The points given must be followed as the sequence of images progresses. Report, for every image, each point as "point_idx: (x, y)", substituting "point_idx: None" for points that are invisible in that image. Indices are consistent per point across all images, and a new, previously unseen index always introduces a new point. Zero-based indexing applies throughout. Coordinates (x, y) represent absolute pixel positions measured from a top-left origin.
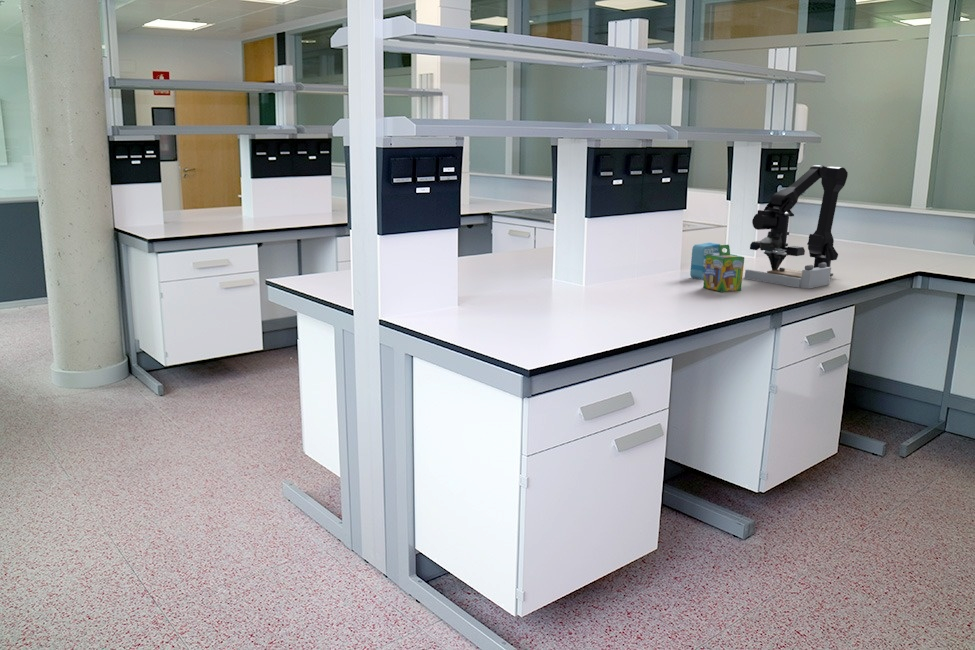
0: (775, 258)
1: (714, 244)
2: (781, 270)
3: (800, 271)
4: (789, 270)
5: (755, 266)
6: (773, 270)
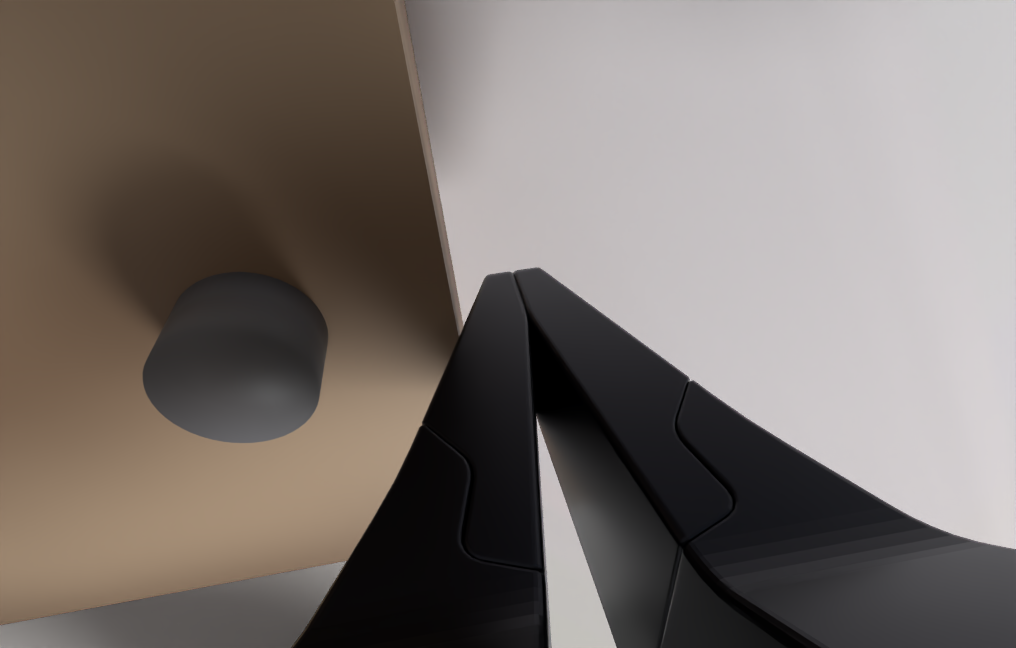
0: (502, 598)
1: None
2: (187, 291)
3: (85, 581)
4: (248, 493)
5: (992, 543)
6: (379, 148)
